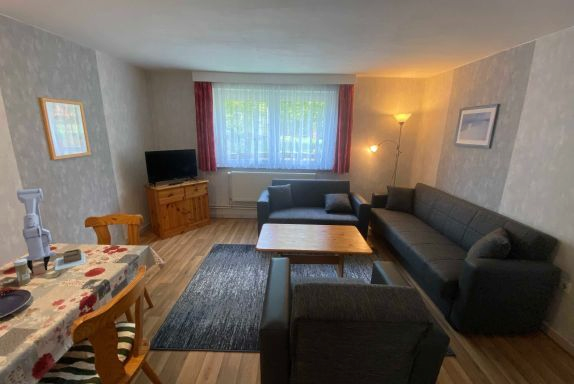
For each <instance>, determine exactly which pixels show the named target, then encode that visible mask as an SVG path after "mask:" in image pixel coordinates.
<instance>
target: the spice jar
mask: <svg viewBox="0 0 574 384" xmlns="http://www.w3.org/2000/svg"><path fill="white" fill-rule="evenodd" d="M13 266H14V269H15V274H16V279H17V282H18V287H26V286H28V285H30V283H31V275H30V269H29V268H28V266H27V259H20V258H18V259H15V260H14V261H13Z"/></svg>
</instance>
